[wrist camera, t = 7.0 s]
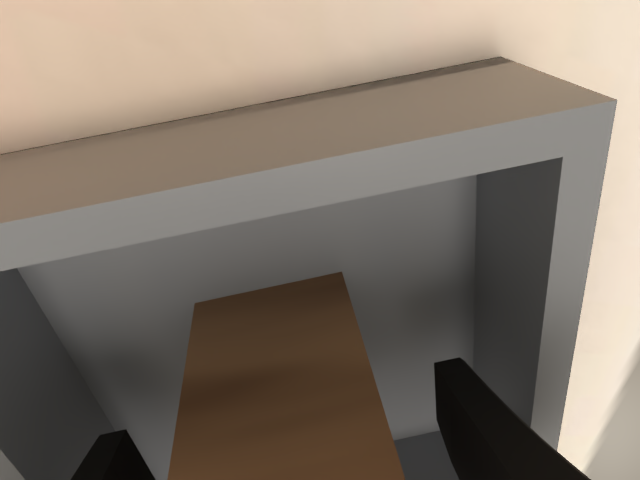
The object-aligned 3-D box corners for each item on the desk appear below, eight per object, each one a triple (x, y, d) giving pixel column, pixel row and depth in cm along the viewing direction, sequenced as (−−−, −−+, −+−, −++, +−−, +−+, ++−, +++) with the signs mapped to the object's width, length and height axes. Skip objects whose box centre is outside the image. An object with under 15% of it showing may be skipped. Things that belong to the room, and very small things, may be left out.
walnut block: (359, 374, 15) (419, 595, 10) (233, 402, 15) (226, 640, 9) (342, 271, 13) (406, 482, 8) (194, 303, 13) (158, 539, 7)
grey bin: (486, 418, 18) (543, 528, 14) (141, 494, 17) (115, 626, 14) (501, 56, 11) (616, 100, 7) (-65, 167, 10) (-216, 266, 7)
